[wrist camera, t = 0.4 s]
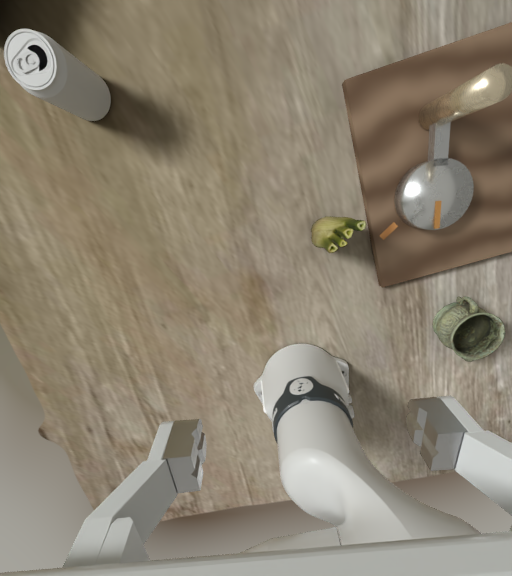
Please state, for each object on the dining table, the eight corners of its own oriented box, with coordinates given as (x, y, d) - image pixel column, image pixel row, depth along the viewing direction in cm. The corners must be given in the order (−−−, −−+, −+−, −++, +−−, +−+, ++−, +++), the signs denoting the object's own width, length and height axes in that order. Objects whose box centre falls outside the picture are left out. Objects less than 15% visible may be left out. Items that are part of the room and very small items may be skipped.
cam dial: (456, 224, 45) (523, 231, 34) (393, 231, 46) (439, 241, 34) (467, 98, 40) (550, 56, 29) (396, 107, 41) (450, 70, 29)
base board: (519, 246, 48) (528, 247, 47) (378, 285, 50) (382, 287, 49) (512, 25, 39) (522, 18, 38) (342, 84, 41) (345, 79, 40)
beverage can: (121, 111, 43) (71, 78, 31) (84, 129, 43) (22, 103, 32) (99, 65, 41) (37, 11, 29) (61, 84, 42) (-13, 39, 30)
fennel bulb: (340, 212, 47) (367, 215, 35) (344, 241, 48) (372, 253, 37) (305, 220, 47) (321, 226, 36) (311, 248, 48) (327, 263, 37)
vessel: (429, 295, 51) (452, 307, 45) (479, 287, 50) (509, 298, 44) (429, 353, 54) (450, 372, 48) (476, 346, 54) (503, 364, 48)
